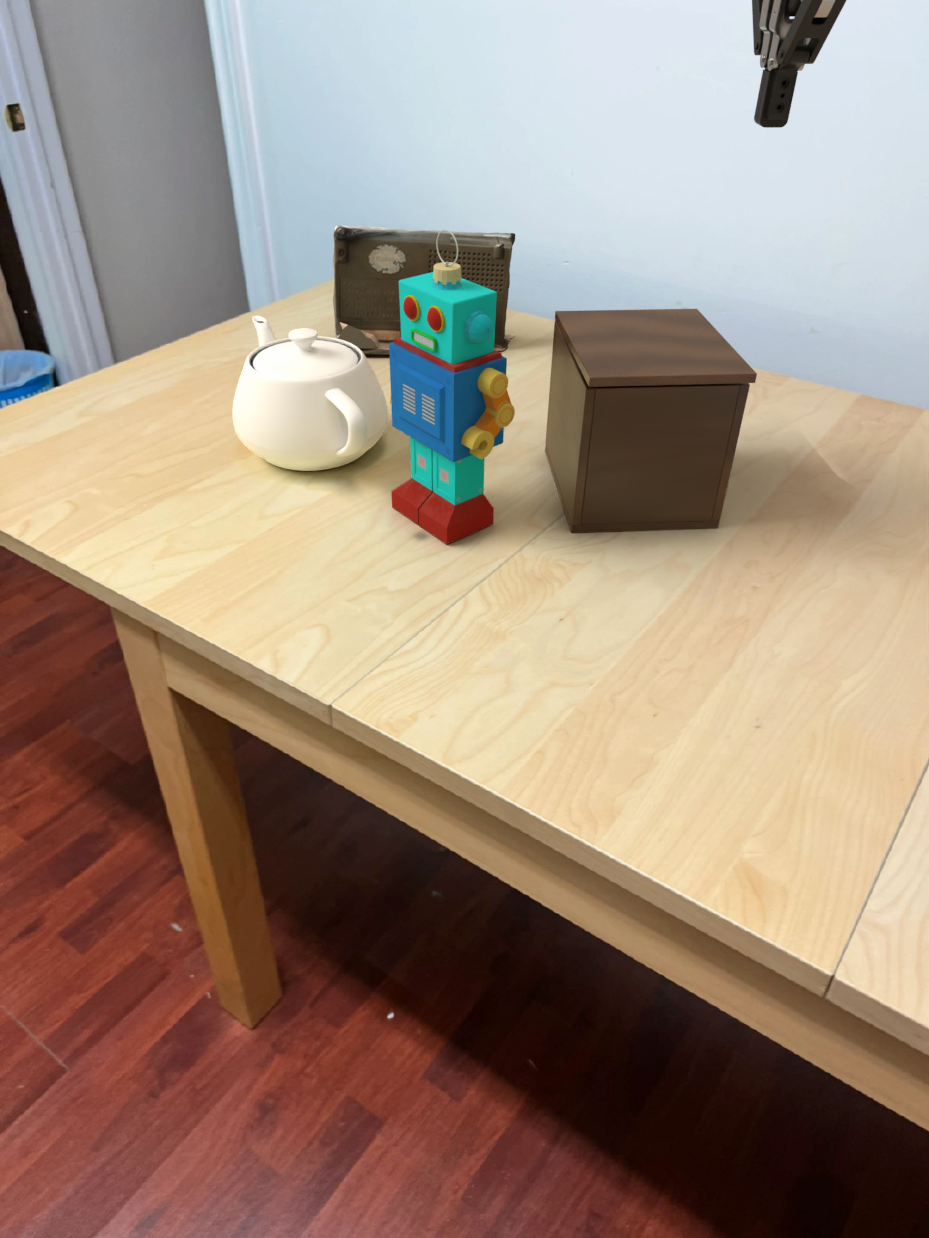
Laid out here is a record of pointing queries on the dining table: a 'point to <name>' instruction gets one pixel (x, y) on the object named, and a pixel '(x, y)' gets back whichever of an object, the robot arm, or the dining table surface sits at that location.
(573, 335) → the lid
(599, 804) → the dining table surface
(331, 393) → the teapot
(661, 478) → the box
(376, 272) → the radio
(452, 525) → the toy robot
